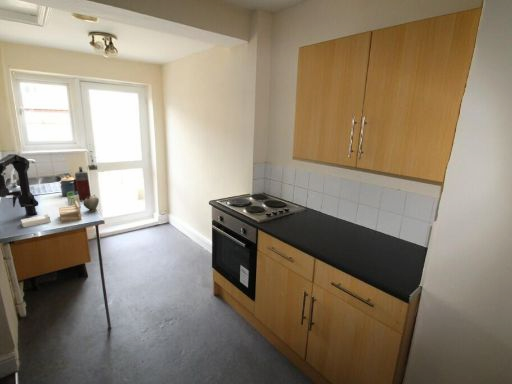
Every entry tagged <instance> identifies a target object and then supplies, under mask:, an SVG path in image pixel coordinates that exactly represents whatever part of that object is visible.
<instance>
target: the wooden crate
mask: <svg viewBox="0 0 512 384" xmlns="http://www.w3.org/2000/svg"><path fill="white" fill-rule="evenodd" d="M80 206H81V205H80ZM80 206H79V204H78V202H77V201H75V205H73V206H68V205H67V206H59V207H58V211H59V216H60V222H61V223H62V222H64V223H65V222H68V221H75V220H82V214H81V208H80Z"/></svg>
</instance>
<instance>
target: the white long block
mask: <svg viewBox="0 0 512 384" xmlns="http://www.w3.org/2000/svg"><path fill="white" fill-rule="evenodd" d="M20 222H21V226H22V228H28V227H33V226H38V225H43V224H49V223H51V216H50V215H48V214H45V215H44V214H43V215H40V216H39V215H38V216H33V217H29V218H21V219H20Z"/></svg>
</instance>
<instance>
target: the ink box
mask: <svg viewBox="0 0 512 384" xmlns="http://www.w3.org/2000/svg"><path fill="white" fill-rule="evenodd" d="M69 193H73V194H70V195H69ZM66 197H67V206H73V205H75V201H77V202H78V204H79V206H80V209H81V200H79V195H78V194H77V195H74V191H71V192H67V196H66Z"/></svg>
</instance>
